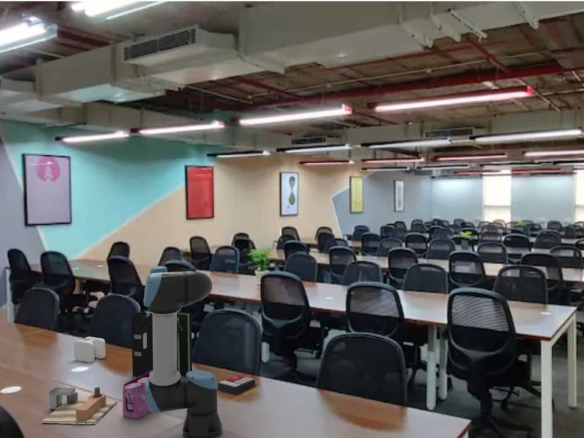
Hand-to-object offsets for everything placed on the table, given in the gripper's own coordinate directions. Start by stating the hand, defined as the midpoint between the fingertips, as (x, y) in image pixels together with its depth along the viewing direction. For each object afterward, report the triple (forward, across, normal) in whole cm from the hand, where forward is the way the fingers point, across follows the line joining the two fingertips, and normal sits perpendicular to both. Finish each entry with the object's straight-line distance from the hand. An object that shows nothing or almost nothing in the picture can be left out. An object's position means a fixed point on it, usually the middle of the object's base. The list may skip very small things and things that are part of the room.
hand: (160, 347), depth 235 cm
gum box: (+24, +3, +10) cm, 26 cm away
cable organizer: (+23, +56, -58) cm, 85 cm away
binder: (+23, +8, -31) cm, 40 cm away
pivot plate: (+23, +30, +16) cm, 41 cm away
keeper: (+23, +40, +9) cm, 47 cm away
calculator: (+24, -33, -14) cm, 43 cm away
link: (+22, +25, +17) cm, 37 cm away
